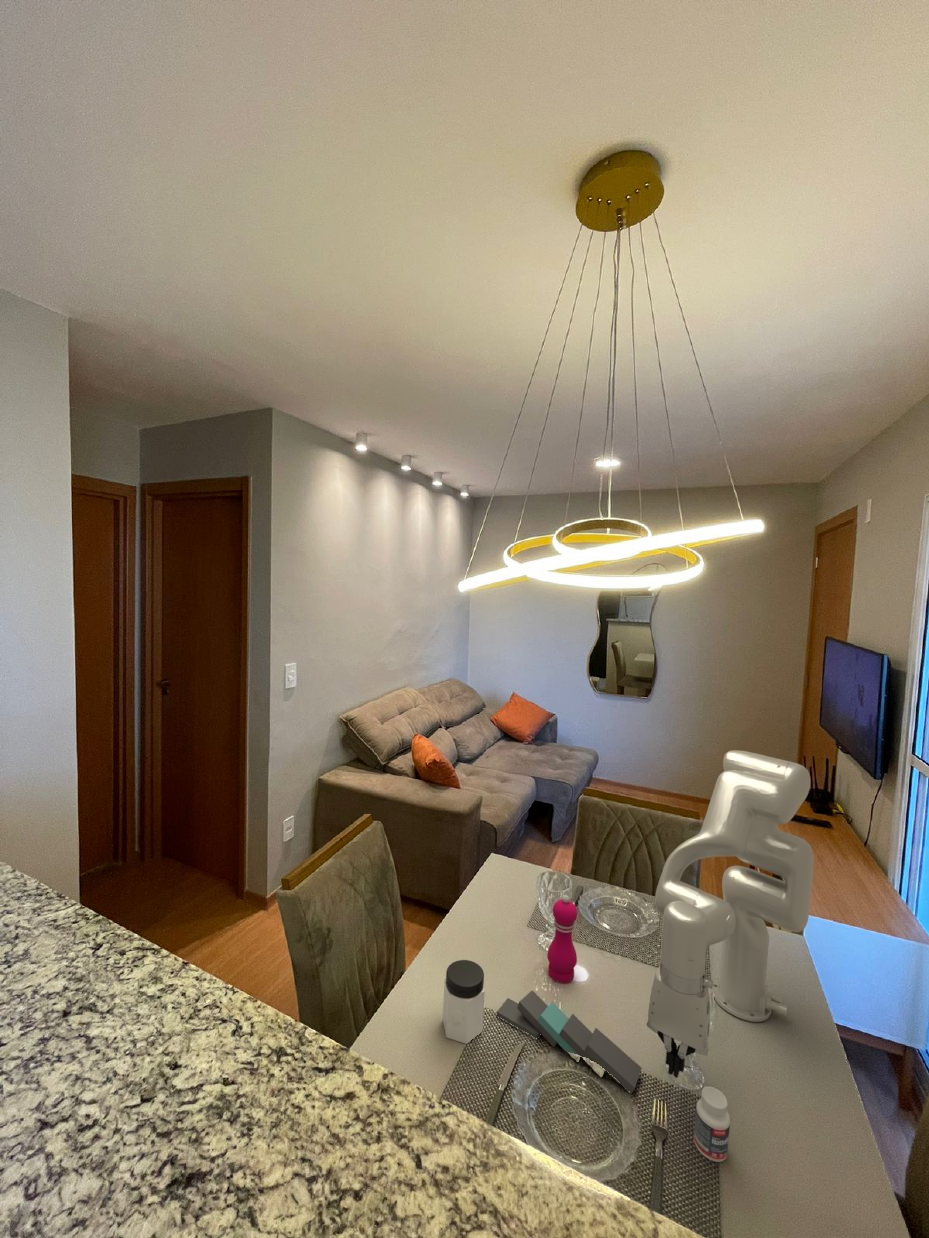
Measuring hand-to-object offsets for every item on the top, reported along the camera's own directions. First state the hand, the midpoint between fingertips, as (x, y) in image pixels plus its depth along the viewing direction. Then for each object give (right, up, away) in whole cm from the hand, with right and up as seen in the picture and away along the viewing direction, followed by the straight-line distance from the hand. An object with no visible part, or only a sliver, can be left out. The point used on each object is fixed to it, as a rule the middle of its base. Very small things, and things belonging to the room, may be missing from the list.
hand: (674, 1070), depth 96 cm
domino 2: (-19, -4, +13) cm, 23 cm away
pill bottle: (+3, -7, -7) cm, 11 cm away
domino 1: (-22, -5, +15) cm, 27 cm away
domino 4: (-11, -5, +6) cm, 13 cm away
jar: (-40, -4, +15) cm, 42 cm away
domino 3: (-15, -5, +9) cm, 18 cm away
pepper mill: (-15, -5, +32) cm, 36 cm away
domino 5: (-6, -5, +4) cm, 9 cm away
